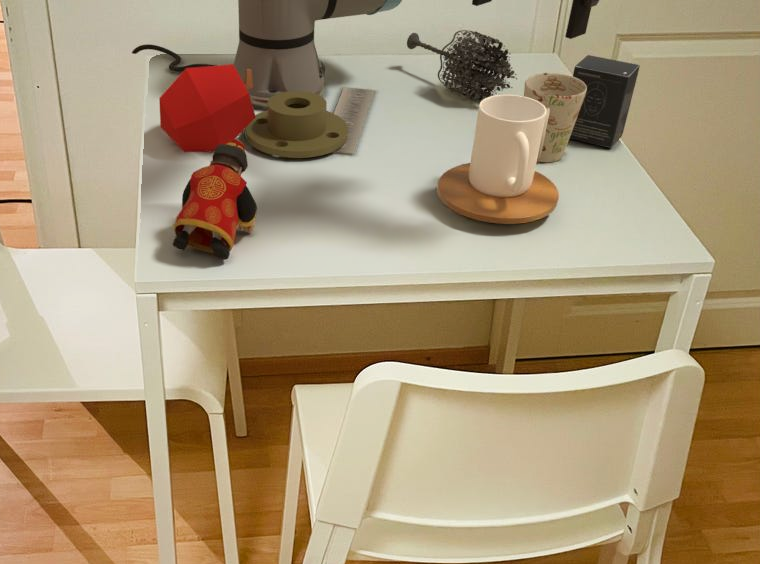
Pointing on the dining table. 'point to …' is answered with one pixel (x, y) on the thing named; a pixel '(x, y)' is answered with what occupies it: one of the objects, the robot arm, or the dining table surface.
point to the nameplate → (353, 115)
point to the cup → (506, 144)
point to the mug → (556, 110)
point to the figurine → (216, 203)
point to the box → (604, 99)
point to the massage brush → (471, 64)
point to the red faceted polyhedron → (206, 107)
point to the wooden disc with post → (496, 199)
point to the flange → (297, 126)
